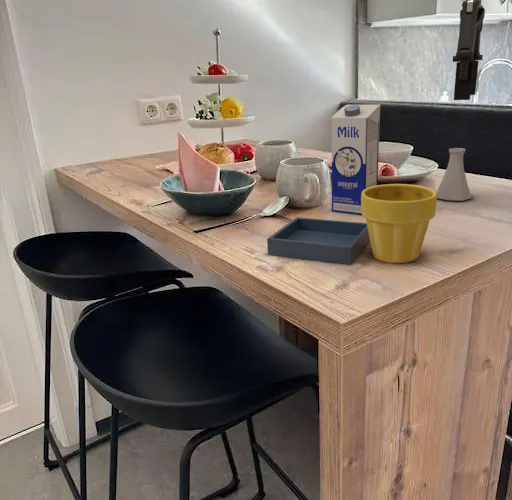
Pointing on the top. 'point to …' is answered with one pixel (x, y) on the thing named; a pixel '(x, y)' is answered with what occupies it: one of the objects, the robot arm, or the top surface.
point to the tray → (320, 240)
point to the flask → (454, 178)
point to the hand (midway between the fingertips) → (465, 97)
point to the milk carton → (354, 155)
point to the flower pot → (397, 219)
